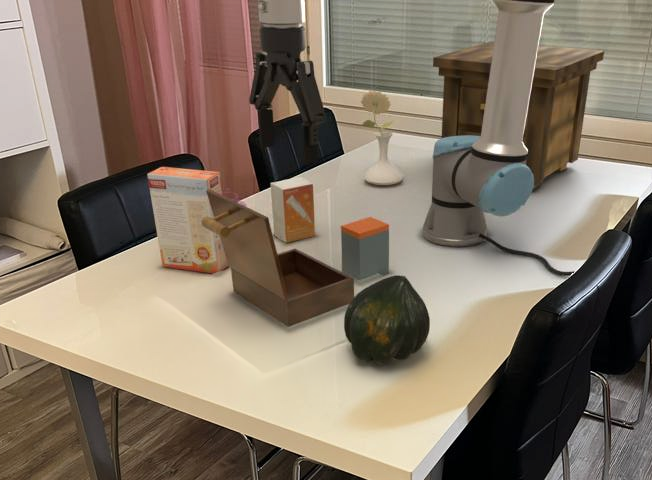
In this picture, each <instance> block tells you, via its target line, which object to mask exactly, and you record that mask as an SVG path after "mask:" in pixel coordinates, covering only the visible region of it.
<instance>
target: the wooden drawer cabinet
mask: <svg viewBox="0 0 652 480" xmlns="http://www.w3.org/2000/svg"><path fill="white" fill-rule="evenodd" d="M493 48H494V41H492V40H491V41H488V42H483V43H481V44H478V45H473V46H470V47H466V48H463V49H459V50H455V51H452V52H449V53H444V54H441V55H437V56H433V57H432V60H433V61H432V67H433V68H438V76H439V77H443V95H442V96H443V97H442V115H441V116H442V118H441V137H440V139H442V138H445V137H451V136H464V135H473V136H481V132H482V125H483V118H484V111H485V104H486V97H487V90H488V83H489V76H490V69H491V62H492V55H493ZM604 57H605V50H600V49H599V50H598V49H597V50H596V49H586V48H576V47H575V48H573V47H564V46H563V47H561V46H552V45H551V46H550V45H540V44H539V46H538V52H537V57H536V63H535V69H534V75H533V81H532V87H531V93H530V99H529V104H528V110H527V116H526V122H525V128H524V134H523V140H522V142H523V144H524V145H525V147H526V148H527V149H528V154H527V160H526V165H527V167H529V169H530V170H531V173H532V174H533V177H534V186H533V190H534V189H536V188H538V187H539V185H540V184H542V183H544V182H545V178H546V177H548V176H549V175H551V174H552V173H554V172H560V173H561V172H562V171H563V170H565V169H567V167H568V163H569V164H573V163H575V162H577V160H578V159H579V155H580V154H579V153H580V146H581V138H582V132H583V126H584V118H585V112H586V106H587V98H588V92H589V84H590V79H591V72H593V71H595V70H597V68H598V67H597V66H598V63H600V62H602V61H604Z"/></svg>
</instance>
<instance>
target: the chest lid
mask: <svg viewBox="0 0 652 480" xmlns="http://www.w3.org/2000/svg"><path fill="white" fill-rule="evenodd" d="M206 192H207V195H208V199H209V202H210V205H211V209H212V212H213V215H214V217H213V218H210V217H204V218H203V219H202V226H203V227H205V228H206V229H208V230H210V231H212V232H214V233H215V234H217V235H219V236H220V239H221V242H222V245H223V249H224V252H225V255H226V259H227V262H228V268H230V270H231V269H233V270H235V271H236V272H238V273H240V274H241V275H243V276H245V277H246V278H248V279H250V280H251V281H253V282H255V283H256V284H258V285H260V286H261V287H263V288H265V289H266V290H268V291H270V292H271V293H273V294H275V295H276V296H278V297H280V298H281V299H283V300H285V301H286V300H287V299H288V295H287V291H286V287H285V283H284V279H283V275H282V271H281V267H280V263H279V259H278V255H277V254H278V251H277V248H276V243H275V238H274V236H273V235H274V234H273V232H272V227H271V223H270V219H269V217H268V216H267V215H264V214H262V213H260V212H258V211H256V210H254V209H252V208H250V207H248V206H247V205H246V206H244V204H243V205H241V204H240V203H239V202H238V203H237V202H235V201H233V200H234V199H233V200H231V199H232V198H229V197H228V196H225V195H223V194H222V195H221V194H219V193H217V192H214V191H212V190H210V189H209V190H207V191H206Z"/></svg>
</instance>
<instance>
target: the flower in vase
mask: <svg viewBox="0 0 652 480" xmlns="http://www.w3.org/2000/svg"><path fill="white" fill-rule="evenodd" d="M360 103H361V105H362V107H363V108H364V110H365V111H367V112H368V113H372V114H373V120H370V119H366V120H365V121H363V122H362V124H361V126H363V127H367V128H371V129H372V128H374V127H375V126H376V128H377V130H378V131H377V132H375V133H374V136H375V137H376V139H377V141H378V147H379V157H378V160H377V162H375V163H374V164H373V165H372V166H371V167H369V168H368V169H367V170H366V171H365V173H364V174H363V179H364V181H365V182H367V183H369V184H372V185H376V186H390V185H395V184H398V183H400V182H401V181H402V180H403V179H404V174H403V172H402V171H401V170H400V169H399V168H398V167H397V166H395V165H394V164H393V163H392V162H391V161H390V159H389V156H388V155H389V154H388V150H389V142H390V140H391V138H392V137H393V135H394V134H393V133H392V132H391V131H382V130H384V129H387V128H389V127H390V126H391V125H392V123H393V120H391V121H390V122H386V123H384V124H383V125H382V126H381V127H380V126H379V125H378V124H377V120H376V115H381V114H385V113H387V112H389V109H390V107H391V101H390V100H389V97H388V96H387V94H385V93H384V94H383V93H382V91H380V90H379V91H377V90H373V91H372V90H369V91H368V92H365V93H364V94H363V95H362V98H361V100H360Z"/></svg>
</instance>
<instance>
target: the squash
mask: <svg viewBox="0 0 652 480" xmlns="http://www.w3.org/2000/svg"><path fill="white" fill-rule="evenodd" d="M430 327H431V319H430V313H429V310H428V308H427V305H426V303H425V300H423V298H422V297H421V295H420V294H419V293H418V292H417V290H416V289H415V288H414V286H413V285H412V283H411V282H410V281H409V279H408V278H407V277H406V276H405V275H400V274H399V275H398V274H397V275H396V274H395V275H391V276H388V277H385V278H382V279H381V280H378V281H376V282H374V283H372V284H370V285H368V286H367V287H365V288H363V289H362V290H360V291H359V292H358V293H357V294H355V295H354V299H353V300H352V302H351V303H350V304H348V306H347V309H346V311H345V313H344V317H343V328H344V333H345V337H346V339H347V341H348V342H349V343H350V345H351V348H352V352H353V354H354V355H355V357H356V358H357V359H358V360H360V361H362V362H373V361H375V363H377V364H379V365H387V364H390V362H392V361H393V360H396V361H404V360H406V359H408V358H410V356H411V355H413V354H415V353H417V352H419V350H420V349H421V348H422V347H423V346H424V344H425V343H426V341H427V340H428V336H429V334H430V329H431V328H430Z"/></svg>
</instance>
